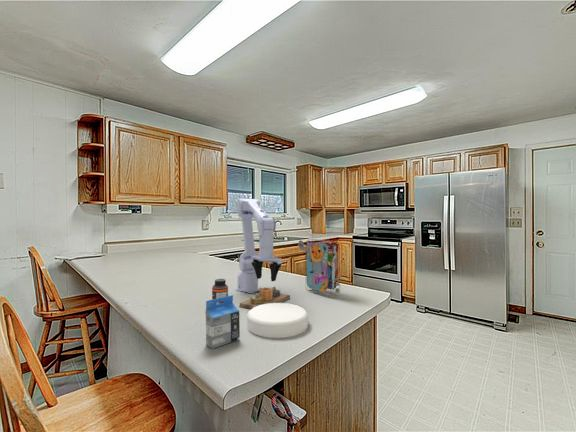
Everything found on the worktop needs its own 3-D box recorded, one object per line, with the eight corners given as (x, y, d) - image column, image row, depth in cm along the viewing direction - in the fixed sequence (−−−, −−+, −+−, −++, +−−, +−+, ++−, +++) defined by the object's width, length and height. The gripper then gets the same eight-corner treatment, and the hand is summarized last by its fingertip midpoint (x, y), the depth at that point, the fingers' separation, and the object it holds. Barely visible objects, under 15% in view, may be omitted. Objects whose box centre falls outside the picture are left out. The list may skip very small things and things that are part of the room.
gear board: (239, 306, 112) (239, 294, 112) (269, 294, 129) (269, 283, 129) (262, 311, 106) (262, 298, 106) (289, 298, 123) (289, 286, 123)
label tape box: (212, 349, 76) (212, 304, 76) (205, 344, 79) (205, 300, 79) (240, 340, 82) (240, 297, 82) (232, 335, 85) (232, 294, 85)
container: (234, 325, 94) (234, 311, 94) (279, 310, 108) (279, 298, 108) (275, 345, 80) (275, 328, 80) (320, 325, 94) (320, 311, 94)
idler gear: (256, 299, 117) (256, 289, 117) (265, 296, 121) (265, 286, 121) (267, 301, 114) (267, 291, 114) (275, 298, 118) (275, 288, 118)
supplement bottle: (211, 307, 111) (211, 278, 111) (226, 305, 113) (226, 277, 113) (212, 312, 105) (213, 282, 105) (229, 310, 107) (229, 280, 107)
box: (293, 287, 142) (293, 238, 142) (302, 285, 146) (302, 237, 146) (330, 299, 123) (331, 242, 122) (340, 296, 127) (340, 241, 126)
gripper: (286, 247, 117) (286, 280, 117) (259, 244, 125) (258, 275, 125) (276, 248, 111) (275, 283, 111) (248, 246, 119) (248, 278, 119)
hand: (266, 279), depth 118 cm, fingers open, 7 cm apart
